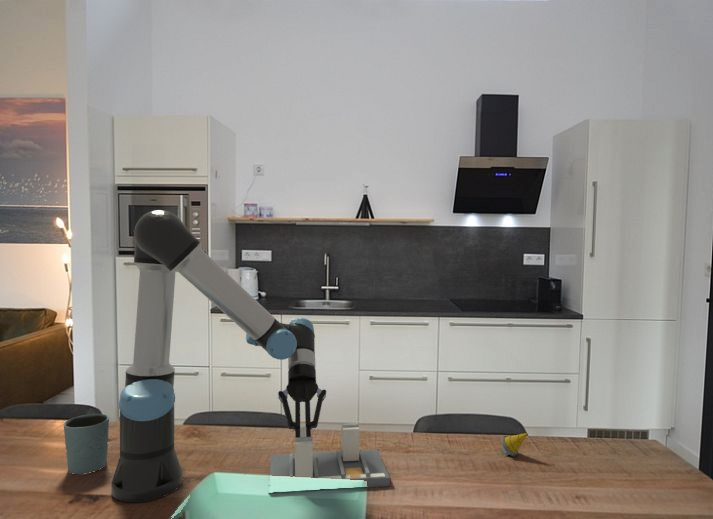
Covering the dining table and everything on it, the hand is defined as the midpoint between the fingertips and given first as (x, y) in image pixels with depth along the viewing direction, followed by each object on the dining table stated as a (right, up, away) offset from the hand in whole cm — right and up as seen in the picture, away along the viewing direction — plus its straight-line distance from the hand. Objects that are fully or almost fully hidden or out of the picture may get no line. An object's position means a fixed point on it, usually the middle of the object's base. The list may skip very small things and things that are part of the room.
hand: (303, 455), depth 116 cm
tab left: (0, -3, -3) cm, 5 cm away
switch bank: (+6, -6, +2) cm, 8 cm away
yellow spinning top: (+55, -6, +14) cm, 58 cm away
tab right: (+11, -3, +6) cm, 13 cm away
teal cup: (-55, -5, +5) cm, 56 cm away
